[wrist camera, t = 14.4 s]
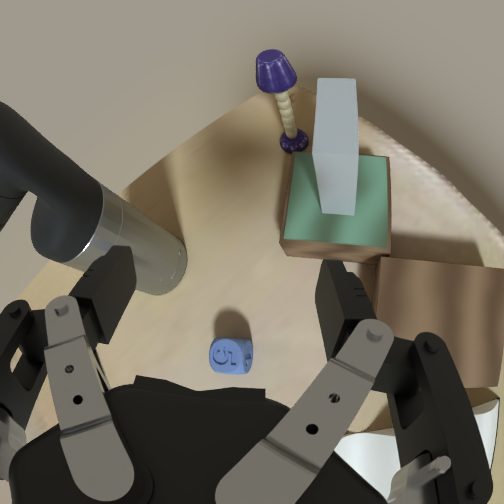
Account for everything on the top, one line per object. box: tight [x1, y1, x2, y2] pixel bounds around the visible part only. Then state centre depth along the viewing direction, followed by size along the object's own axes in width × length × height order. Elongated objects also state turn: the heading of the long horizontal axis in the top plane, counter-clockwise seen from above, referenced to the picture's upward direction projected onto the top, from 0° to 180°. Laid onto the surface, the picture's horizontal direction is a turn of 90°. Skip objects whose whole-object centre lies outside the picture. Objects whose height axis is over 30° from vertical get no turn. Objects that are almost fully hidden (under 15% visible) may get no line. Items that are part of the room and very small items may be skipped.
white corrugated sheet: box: [334, 398, 500, 500], centre depth 23 cm, size 13×35×5 cm, turn 93°
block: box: [312, 78, 359, 216], centre depth 26 cm, size 4×9×11 cm, turn 170°
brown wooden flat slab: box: [372, 257, 504, 388], centre depth 26 cm, size 16×13×5 cm
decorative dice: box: [209, 337, 253, 374], centre depth 33 cm, size 4×4×4 cm
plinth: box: [279, 151, 391, 264], centre depth 33 cm, size 12×12×6 cm
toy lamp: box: [256, 49, 309, 153], centre depth 33 cm, size 5×5×17 cm
